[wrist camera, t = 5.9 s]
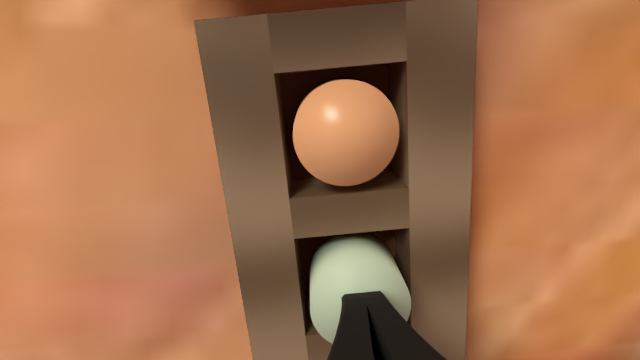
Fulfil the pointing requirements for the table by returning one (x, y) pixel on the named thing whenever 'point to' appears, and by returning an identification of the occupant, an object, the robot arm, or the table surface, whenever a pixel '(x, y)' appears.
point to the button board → (357, 200)
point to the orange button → (345, 132)
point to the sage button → (352, 278)
